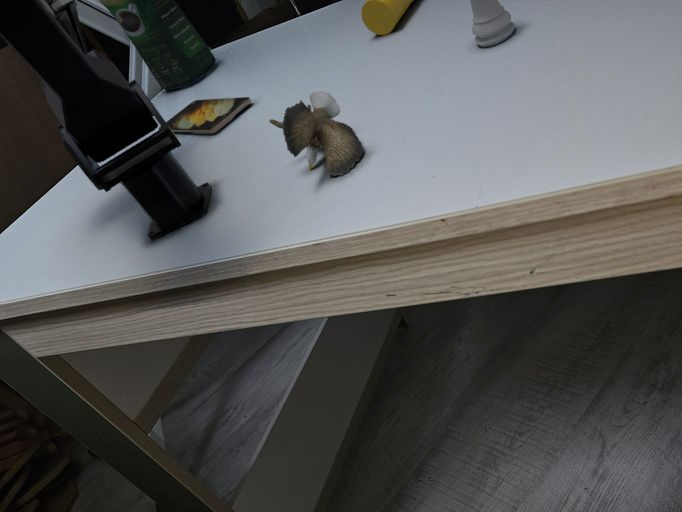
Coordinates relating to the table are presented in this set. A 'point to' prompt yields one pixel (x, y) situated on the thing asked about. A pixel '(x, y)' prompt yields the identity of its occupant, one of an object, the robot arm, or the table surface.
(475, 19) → the rook chess piece
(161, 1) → the coffee jar
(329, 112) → the eagle figurine
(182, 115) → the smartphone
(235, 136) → the table surface
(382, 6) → the yellow cylindrical tube
